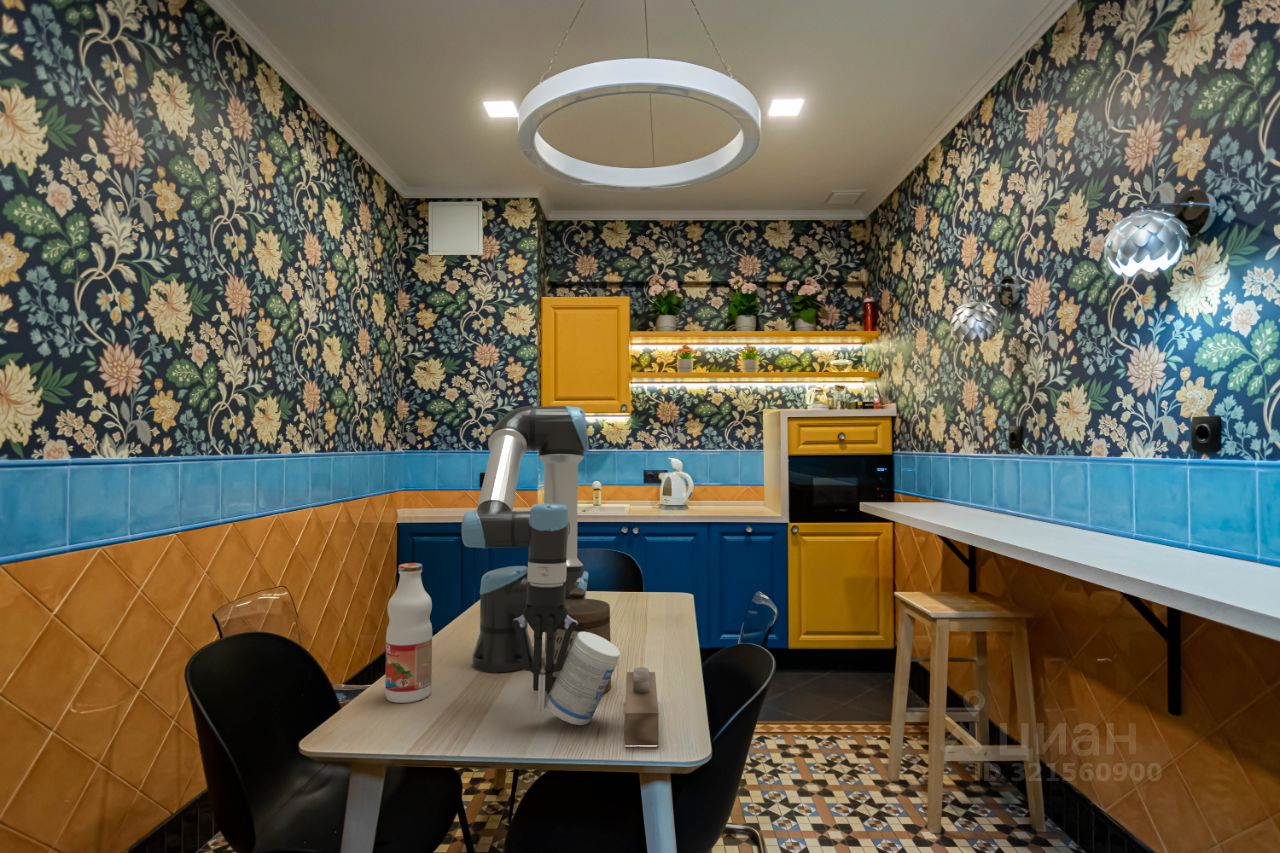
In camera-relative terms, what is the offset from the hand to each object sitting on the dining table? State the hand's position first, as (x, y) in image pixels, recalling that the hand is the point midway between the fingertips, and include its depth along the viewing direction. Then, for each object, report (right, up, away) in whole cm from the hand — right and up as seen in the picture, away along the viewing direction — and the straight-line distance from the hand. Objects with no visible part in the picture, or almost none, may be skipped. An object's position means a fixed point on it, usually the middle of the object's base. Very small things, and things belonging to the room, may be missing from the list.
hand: (541, 707), depth 126 cm
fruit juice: (-31, -4, +15) cm, 35 cm away
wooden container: (+5, -4, +20) cm, 21 cm away
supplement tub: (+5, -1, +1) cm, 5 cm away
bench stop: (+19, -3, +1) cm, 19 cm away
